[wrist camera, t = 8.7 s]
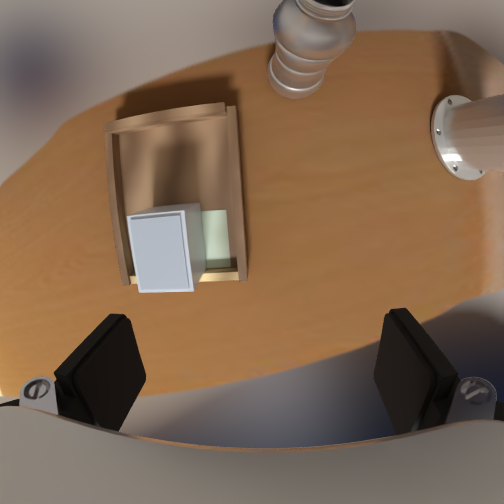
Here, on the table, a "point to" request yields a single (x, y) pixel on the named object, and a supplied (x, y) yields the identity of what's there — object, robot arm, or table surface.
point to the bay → (180, 180)
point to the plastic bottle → (308, 43)
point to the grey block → (167, 247)
